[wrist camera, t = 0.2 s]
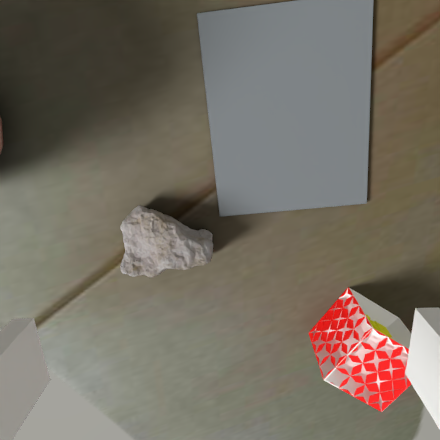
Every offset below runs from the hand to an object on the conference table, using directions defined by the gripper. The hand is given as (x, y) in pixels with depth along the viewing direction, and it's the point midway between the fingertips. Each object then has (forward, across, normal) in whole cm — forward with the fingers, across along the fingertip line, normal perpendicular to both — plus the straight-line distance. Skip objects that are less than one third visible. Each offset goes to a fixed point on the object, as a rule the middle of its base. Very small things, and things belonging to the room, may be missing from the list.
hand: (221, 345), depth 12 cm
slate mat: (+27, +6, +6) cm, 29 cm away
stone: (+28, -7, -7) cm, 30 cm away
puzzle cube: (+28, +15, -20) cm, 37 cm away
